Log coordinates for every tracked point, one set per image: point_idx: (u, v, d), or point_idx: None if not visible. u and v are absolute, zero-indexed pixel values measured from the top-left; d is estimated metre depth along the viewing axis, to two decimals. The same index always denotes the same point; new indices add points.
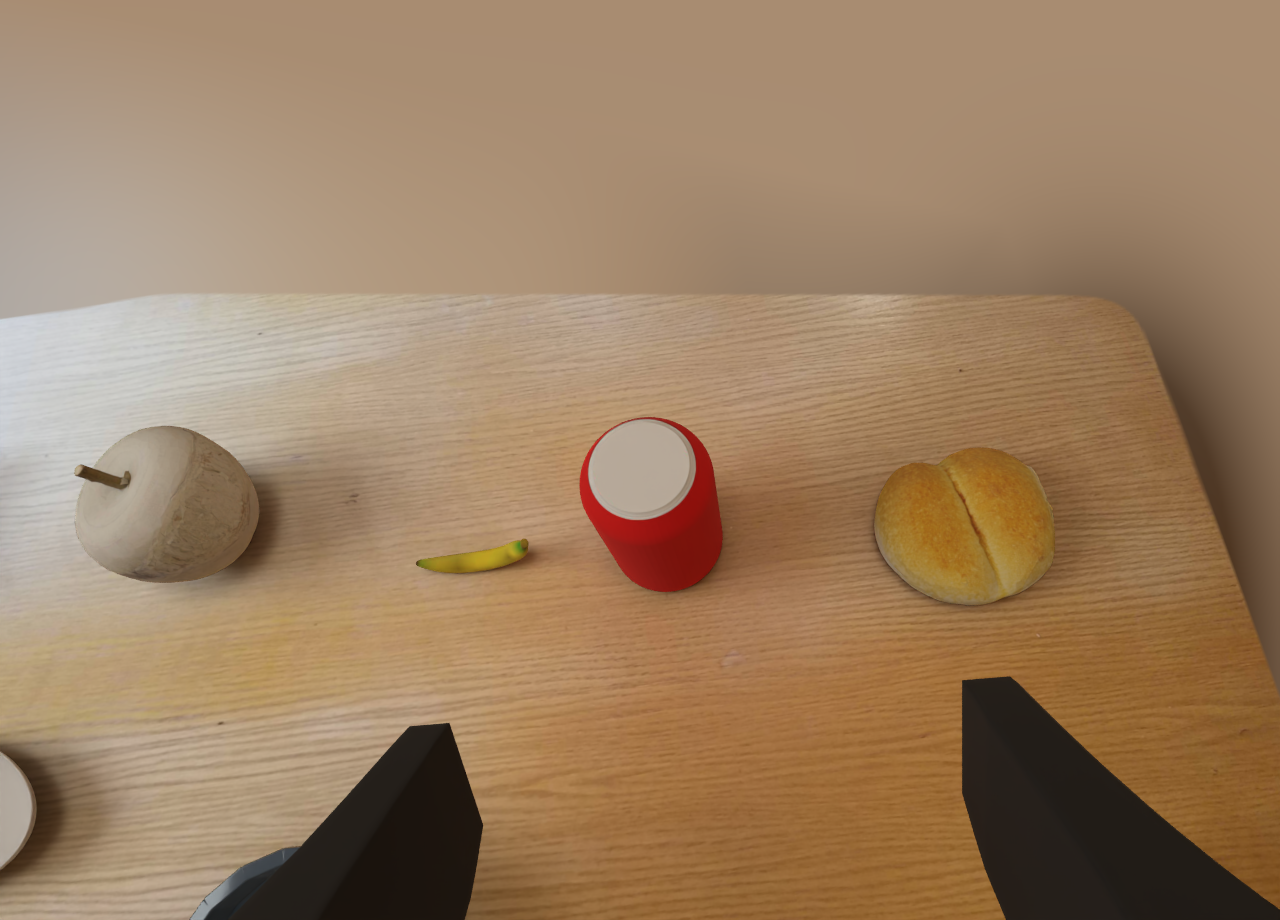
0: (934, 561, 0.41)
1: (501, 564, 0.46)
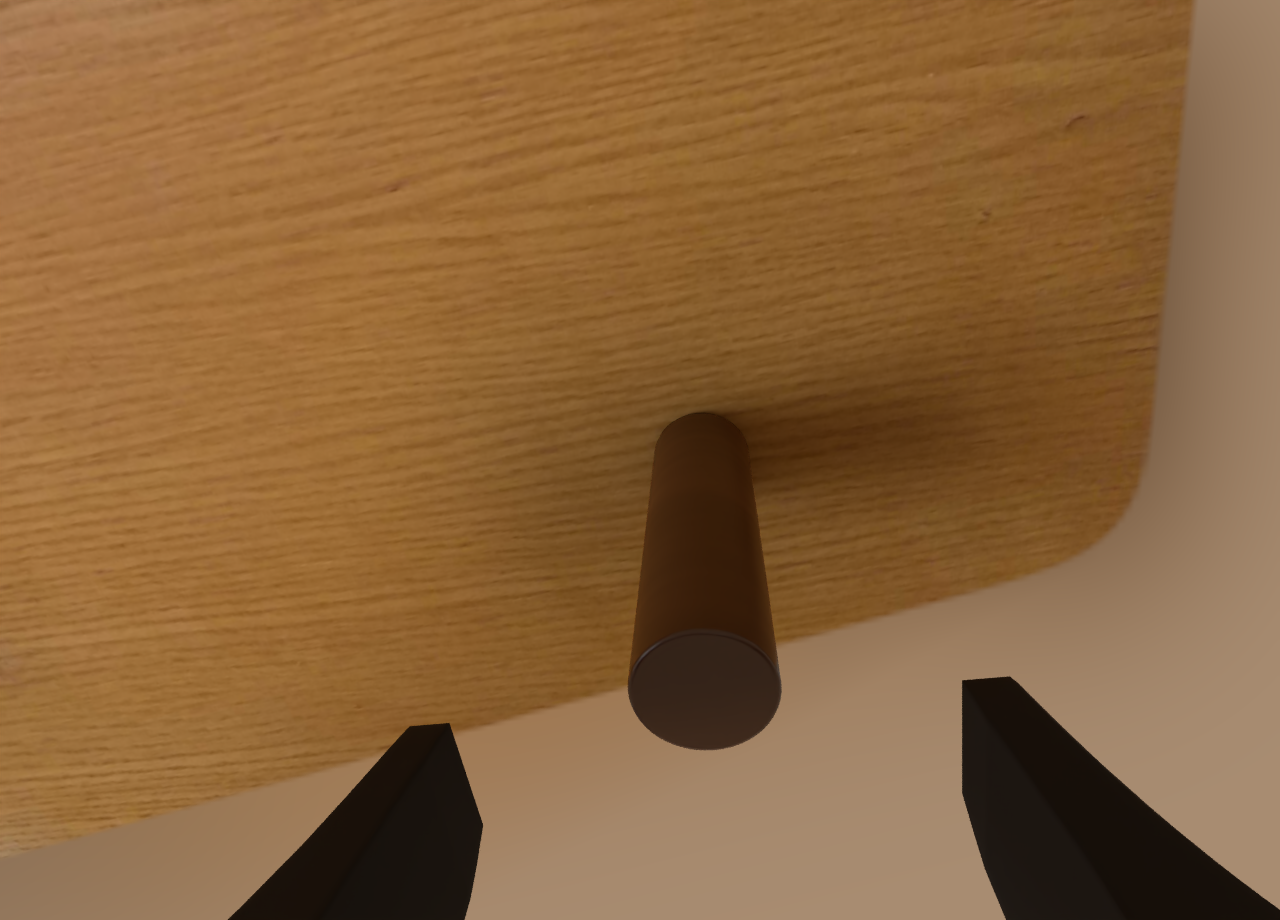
0: None
1: None
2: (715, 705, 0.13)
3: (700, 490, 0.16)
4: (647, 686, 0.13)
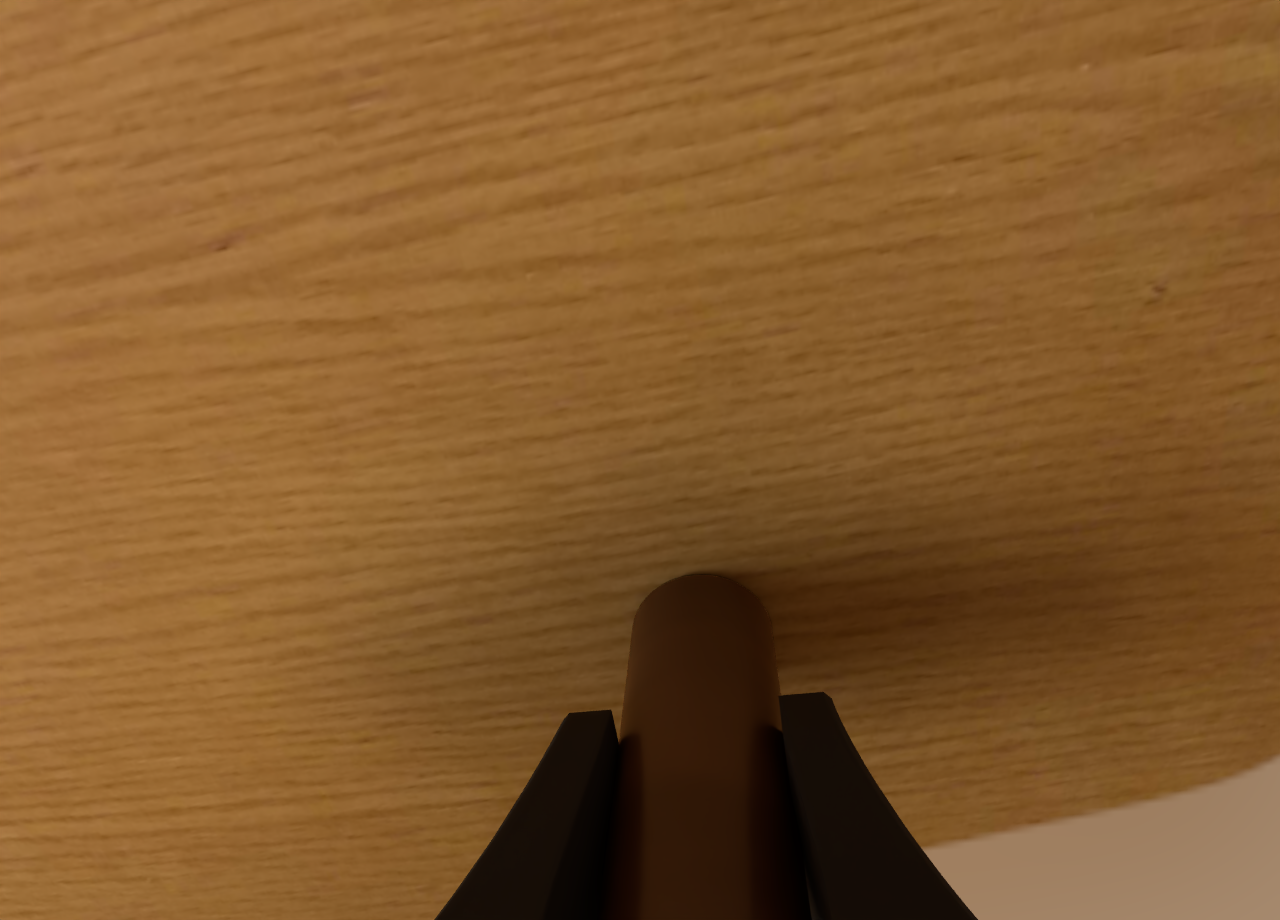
0: None
1: None
2: None
3: (700, 770, 0.10)
4: None
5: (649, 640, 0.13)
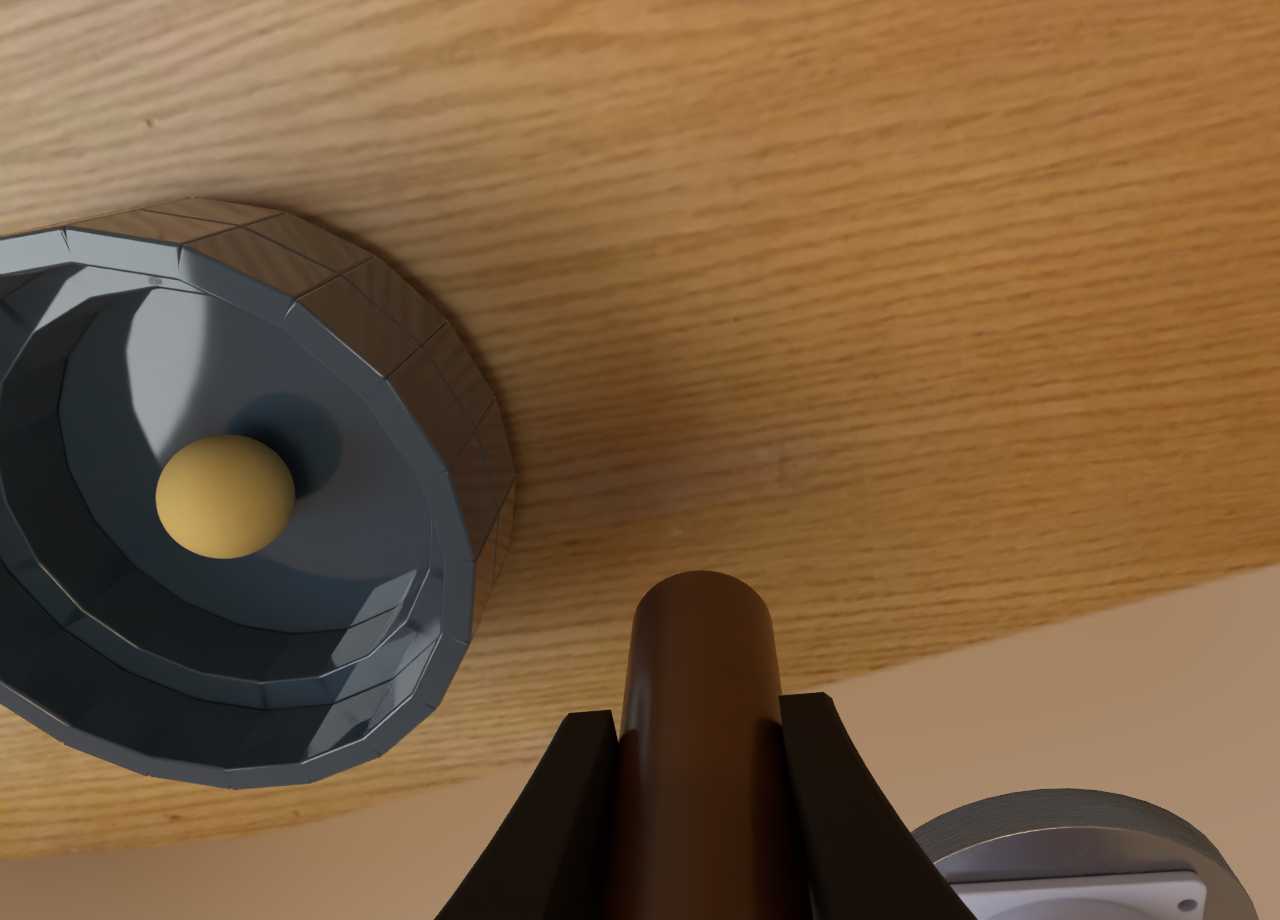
0: None
1: None
2: None
3: (700, 765, 0.10)
4: None
5: (649, 635, 0.12)
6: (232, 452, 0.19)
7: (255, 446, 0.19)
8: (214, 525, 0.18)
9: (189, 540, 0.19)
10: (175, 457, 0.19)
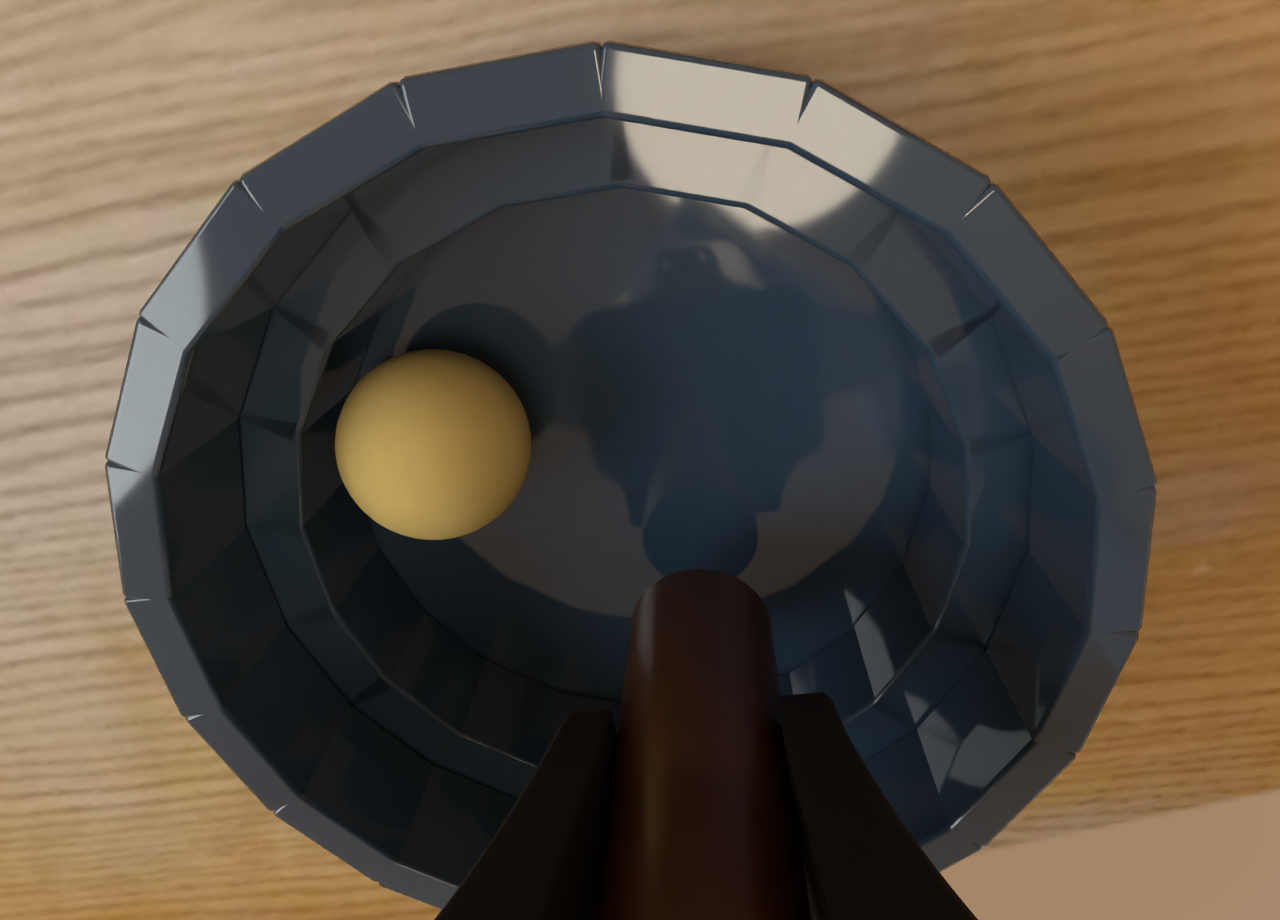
0: None
1: None
2: None
3: (698, 763, 0.10)
4: None
5: (647, 634, 0.12)
6: (445, 354, 0.12)
7: (455, 373, 0.12)
8: None
9: None
10: None
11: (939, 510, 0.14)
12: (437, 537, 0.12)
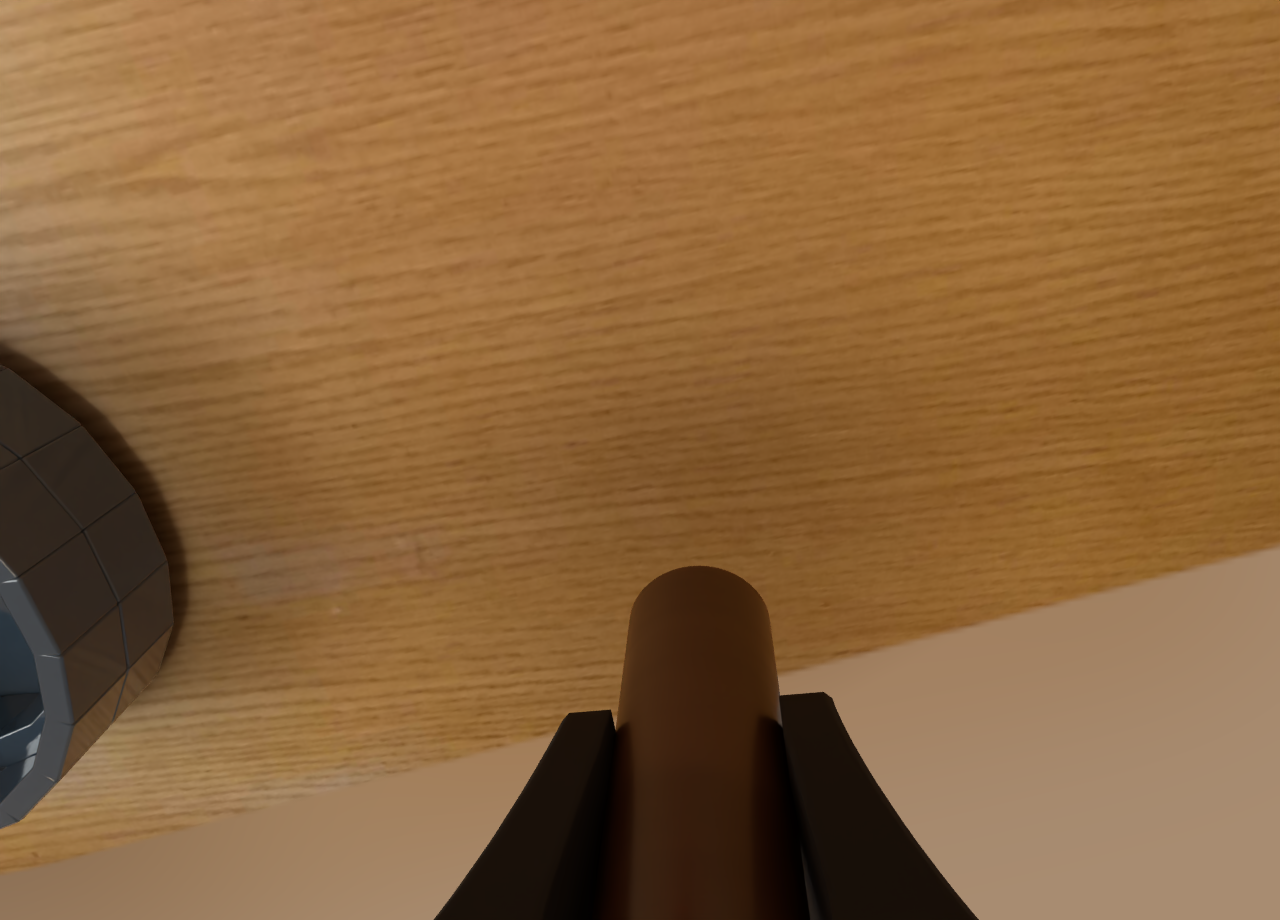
0: None
1: None
2: None
3: (696, 758, 0.10)
4: None
5: (646, 630, 0.12)
6: None
7: None
8: None
9: None
10: None
11: None
12: None
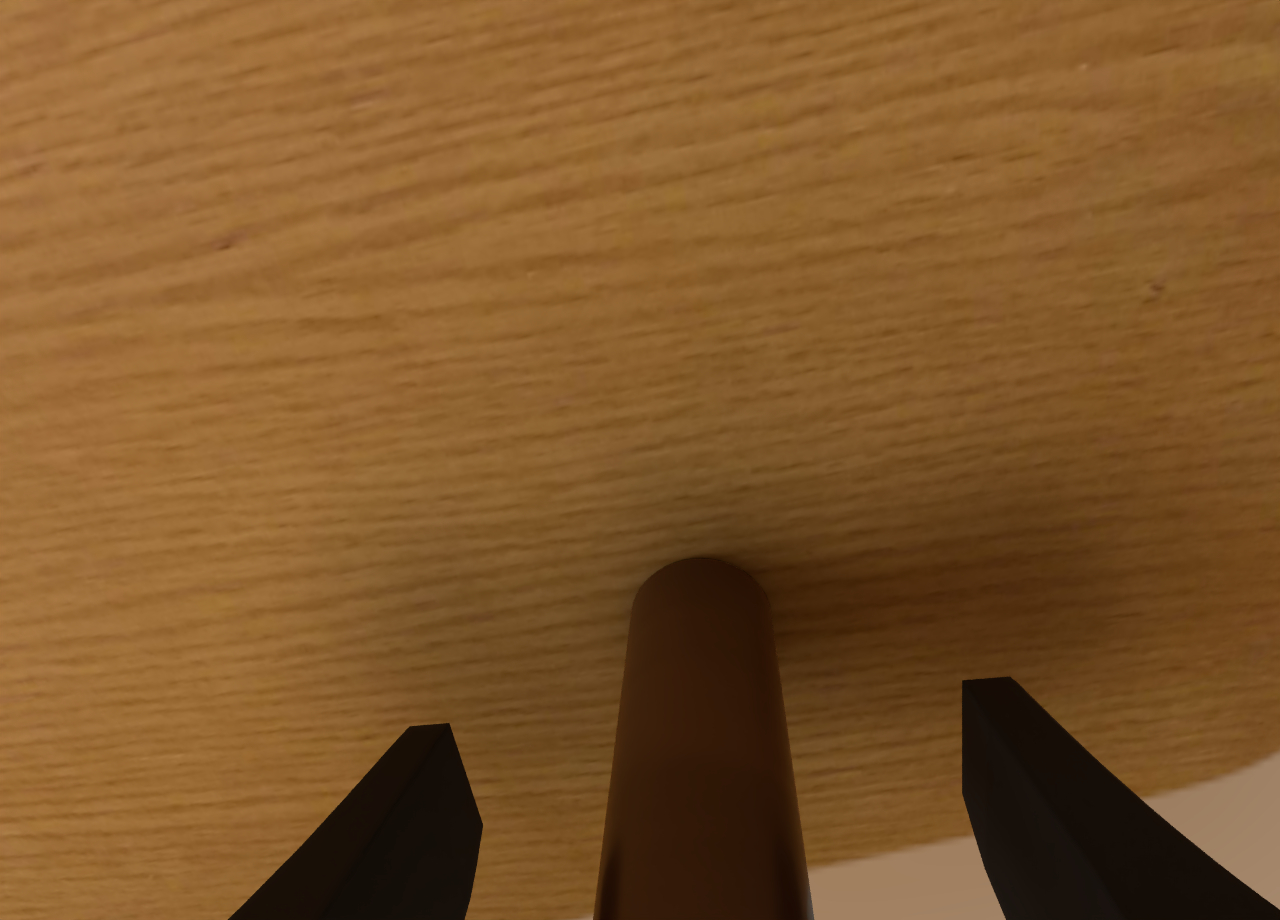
0: None
1: None
2: None
3: (699, 748, 0.10)
4: None
5: (648, 623, 0.12)
6: None
7: None
8: None
9: None
10: None
11: None
12: None
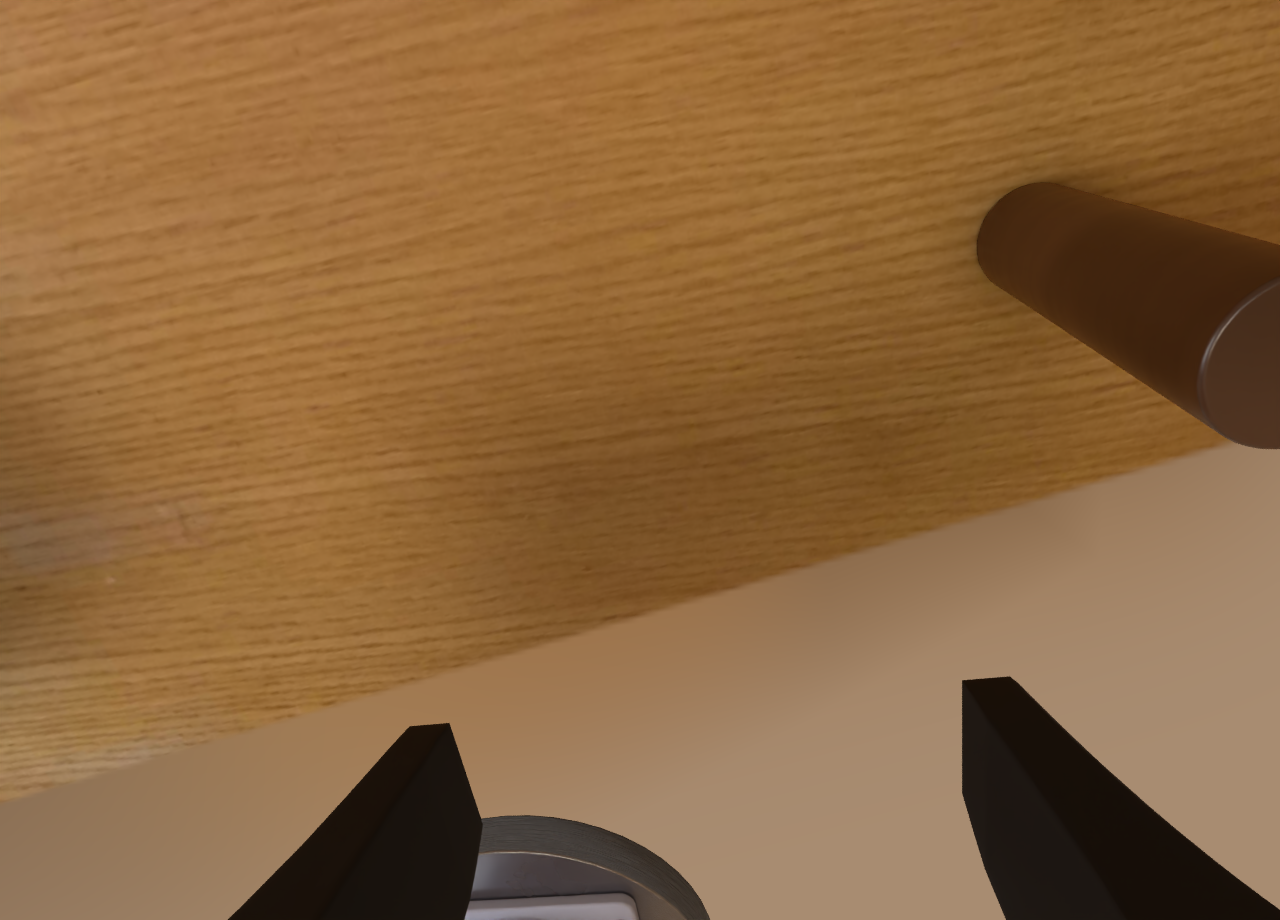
0: None
1: None
2: None
3: (1136, 210, 0.14)
4: (1232, 353, 0.10)
5: (1023, 207, 0.17)
6: None
7: None
8: None
9: None
10: None
11: None
12: None
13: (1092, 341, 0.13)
